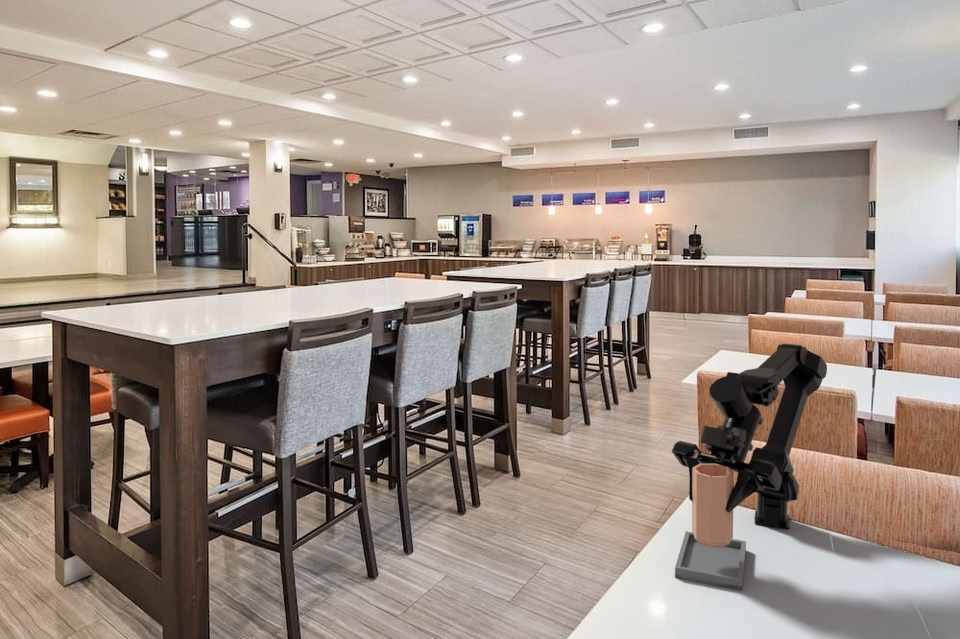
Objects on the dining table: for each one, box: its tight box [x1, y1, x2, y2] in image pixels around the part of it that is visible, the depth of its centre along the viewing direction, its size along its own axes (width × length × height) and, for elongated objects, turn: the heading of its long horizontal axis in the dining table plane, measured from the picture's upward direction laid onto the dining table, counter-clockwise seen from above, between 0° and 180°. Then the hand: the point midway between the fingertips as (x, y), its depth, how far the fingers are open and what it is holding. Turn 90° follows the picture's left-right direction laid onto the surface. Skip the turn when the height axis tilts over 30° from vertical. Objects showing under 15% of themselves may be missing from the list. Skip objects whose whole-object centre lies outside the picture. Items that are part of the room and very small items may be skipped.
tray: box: [674, 531, 747, 591], centre depth 112 cm, size 15×11×2 cm
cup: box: [691, 463, 735, 547], centre depth 109 cm, size 6×6×13 cm
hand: (708, 505), depth 109 cm, fingers closed on cup, 6 cm apart
